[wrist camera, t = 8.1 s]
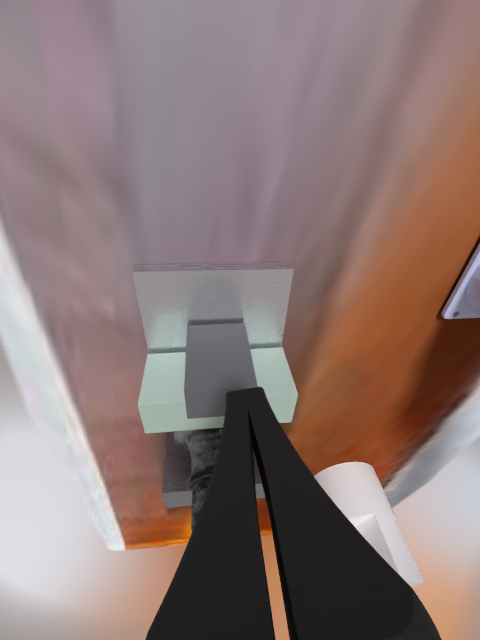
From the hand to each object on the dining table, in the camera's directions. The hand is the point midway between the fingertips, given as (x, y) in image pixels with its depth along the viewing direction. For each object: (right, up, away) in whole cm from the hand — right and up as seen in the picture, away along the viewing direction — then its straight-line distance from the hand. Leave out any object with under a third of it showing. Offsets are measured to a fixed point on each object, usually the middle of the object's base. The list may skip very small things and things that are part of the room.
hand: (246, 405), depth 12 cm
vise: (-2, -2, +14) cm, 14 cm away
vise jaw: (-2, +1, +11) cm, 11 cm away
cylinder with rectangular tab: (+14, -18, +30) cm, 38 cm away
